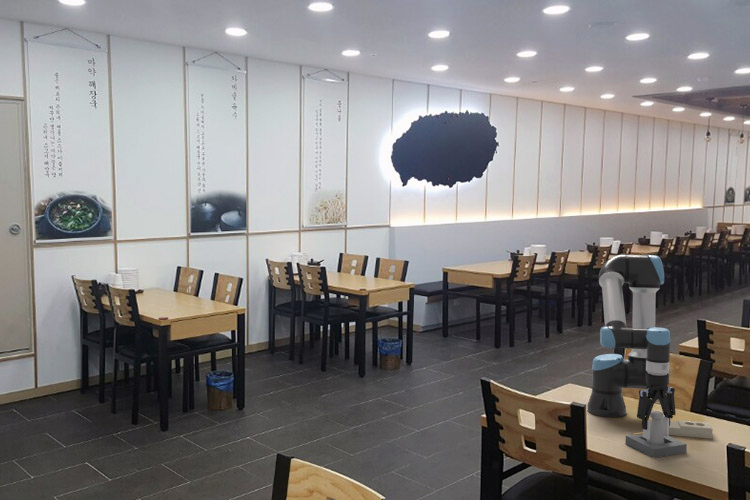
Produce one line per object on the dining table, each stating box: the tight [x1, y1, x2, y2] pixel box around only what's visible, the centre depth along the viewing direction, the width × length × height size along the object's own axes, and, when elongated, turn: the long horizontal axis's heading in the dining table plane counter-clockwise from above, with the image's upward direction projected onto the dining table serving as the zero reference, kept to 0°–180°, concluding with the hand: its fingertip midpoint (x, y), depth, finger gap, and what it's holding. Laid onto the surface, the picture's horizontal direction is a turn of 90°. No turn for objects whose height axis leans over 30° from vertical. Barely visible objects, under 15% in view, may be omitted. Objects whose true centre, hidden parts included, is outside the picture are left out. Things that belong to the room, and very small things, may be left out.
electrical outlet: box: [669, 419, 713, 439], centre depth 248 cm, size 7×4×18 cm
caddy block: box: [625, 431, 688, 459], centre depth 233 cm, size 14×14×3 cm
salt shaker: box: [647, 410, 664, 445], centre depth 233 cm, size 6×6×13 cm
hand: (655, 436), depth 233 cm, fingers open, 7 cm apart
